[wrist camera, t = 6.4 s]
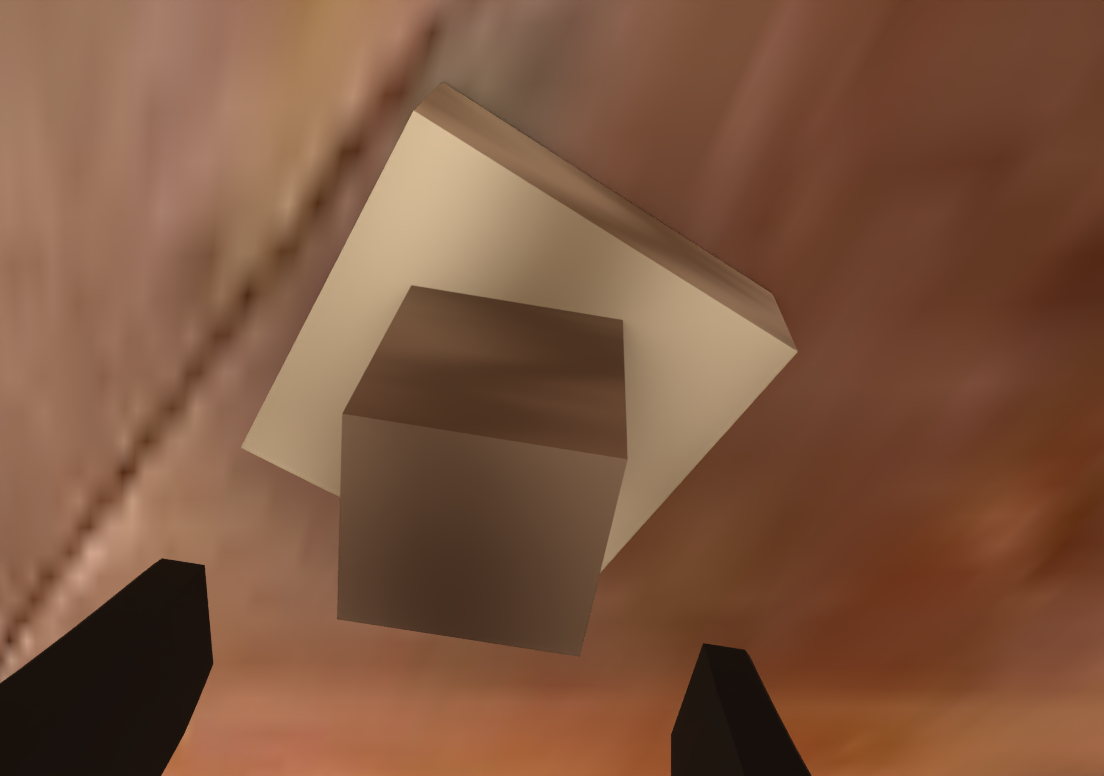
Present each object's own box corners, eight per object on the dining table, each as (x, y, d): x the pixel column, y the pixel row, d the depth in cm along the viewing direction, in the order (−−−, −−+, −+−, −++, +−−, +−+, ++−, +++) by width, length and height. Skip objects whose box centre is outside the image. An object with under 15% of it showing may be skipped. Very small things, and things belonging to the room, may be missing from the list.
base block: (772, 294, 20) (797, 351, 17) (570, 534, 24) (566, 610, 21) (442, 81, 18) (413, 110, 15) (285, 384, 22) (240, 447, 19)
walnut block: (622, 319, 17) (627, 459, 12) (586, 488, 19) (579, 656, 15) (411, 284, 17) (341, 413, 12) (399, 458, 19) (337, 619, 15)
